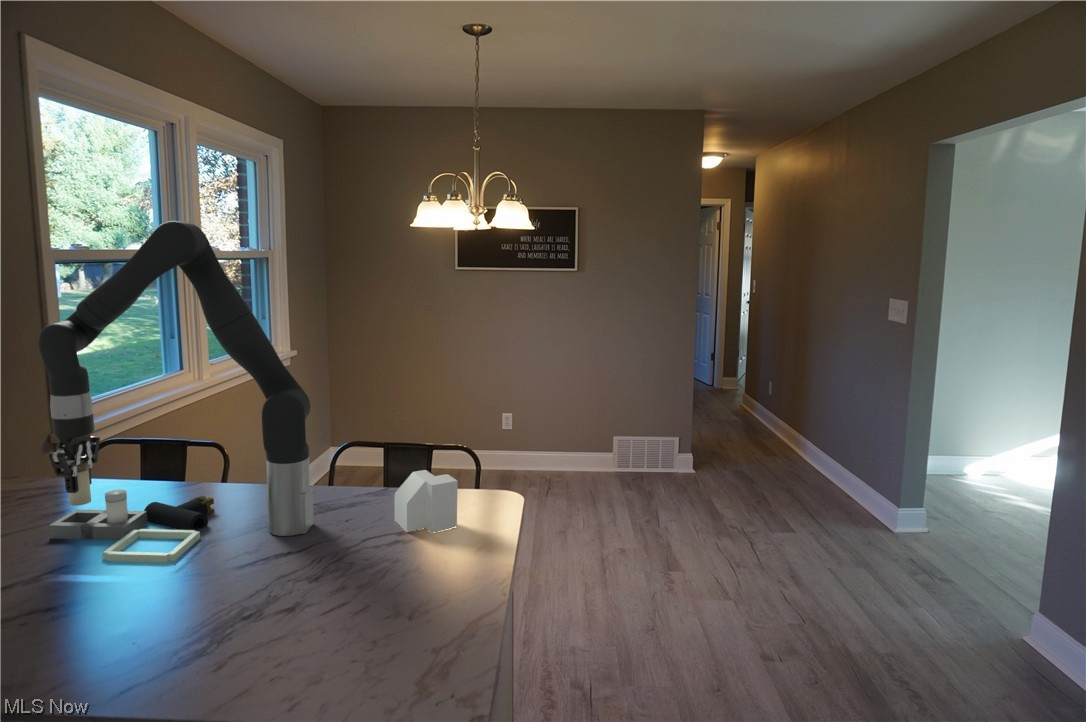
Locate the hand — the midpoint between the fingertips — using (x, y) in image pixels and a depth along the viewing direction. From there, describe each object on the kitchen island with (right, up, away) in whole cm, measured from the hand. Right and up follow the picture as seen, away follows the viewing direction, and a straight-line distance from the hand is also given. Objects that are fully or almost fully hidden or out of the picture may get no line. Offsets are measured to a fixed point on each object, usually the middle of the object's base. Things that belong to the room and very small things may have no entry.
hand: (79, 488), depth 152 cm
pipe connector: (+19, -10, +10) cm, 24 cm away
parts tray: (+20, -13, -6) cm, 24 cm away
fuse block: (+3, -11, +2) cm, 12 cm away
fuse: (+7, -10, +2) cm, 13 cm away
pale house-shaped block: (+74, -12, +14) cm, 76 cm away
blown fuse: (0, -3, +1) cm, 3 cm away
